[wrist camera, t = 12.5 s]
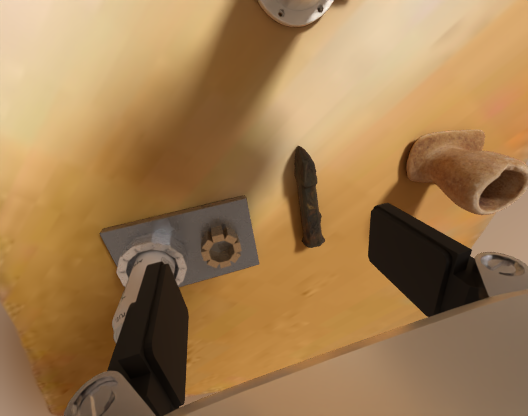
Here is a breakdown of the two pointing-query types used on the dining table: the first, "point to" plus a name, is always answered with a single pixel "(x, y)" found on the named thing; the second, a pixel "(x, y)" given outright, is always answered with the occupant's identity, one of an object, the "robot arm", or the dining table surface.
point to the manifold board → (189, 240)
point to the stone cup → (467, 170)
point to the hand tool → (308, 198)
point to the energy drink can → (137, 284)
